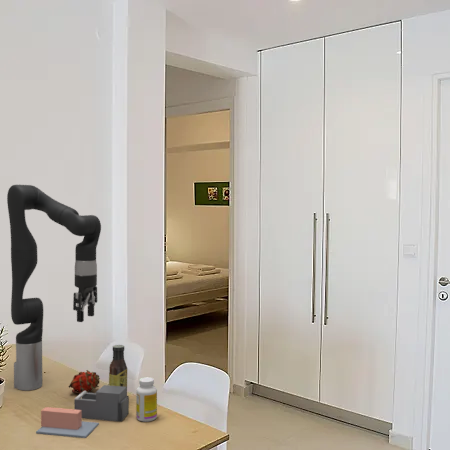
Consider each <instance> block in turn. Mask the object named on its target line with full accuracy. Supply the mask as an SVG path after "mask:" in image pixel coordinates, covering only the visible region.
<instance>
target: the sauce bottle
mask: <svg viewBox="0 0 450 450" xmlns="http://www.w3.org/2000/svg"><path fill="white" fill-rule="evenodd" d="M108 385H110V386H123V387H127V388H128V367H127V363H126V360H125V345H123V344H115V345H112V360H111V361H110V363H109V372H108Z"/></svg>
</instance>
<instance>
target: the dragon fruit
mask: <svg viewBox="0 0 450 450" xmlns="http://www.w3.org/2000/svg"><path fill="white" fill-rule="evenodd" d="M100 379H101V378H100V375H99V374H97V372H93V371H89V370H88V369H87V370H86V372H85V371H79V372H78V373H77V374H75V375H74V376H73V378H72V380H71V382H70V383H69V385H68V388H69V389H70V388H71V389H72V391H71V392H72V393H74V394H81V393H82V392H83V391H86V392H87V393H93V390H96V389H97V388H99V387H100Z"/></svg>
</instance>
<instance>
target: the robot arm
mask: <svg viewBox="0 0 450 450" xmlns="http://www.w3.org/2000/svg"><path fill="white" fill-rule="evenodd" d="M6 197H7V198H6V200H7V202H6V203H7V210H8V211H7V212H8V218H9V225H10V226H9V228H10V263H11V264H10V265H11V298H10V299H11V300H10V314H11V315H10V316H11V320H12V323H13V324H14V325H26V324H29V326H27V327H26V328H25V329H23V330H22V331H20V332H18V333H16V336H15V362H13V389H17V390H19V391H34V390H37V389H38V390H39V389H40V388H42V386H43V332H44V331H43V330H44V329H43V327H44V304H43V301H42V299H41V298H40V297H29V298H28V297H27V298H23V297H24V290H25V289H26V288H25V287H26V285H27V283H28V280H29V279H30V278H31V276H32V275H33V273H34V271H35V269H36V267H37V265H38V244H37V242H36V240H35V238H34V236H33V234H32V232H31V230H30V228H29V227H28V225H27V220H26V211H30V210H36V211H40V212H43V213H45V214H46V216H47V217H48V218H49V219H50V220H51V221H53V222H54V223H56V224H59V226H62V227H64V228H65V229H66V230H67V231H68V232H70V233H71V234H72V235H75V236H78V237H83V238H82V241H81V242H79V243H77V244H76V245H75V251H74V252H75V255H74V256H75V262H74V287H75V288H77V289H78V290H77V291H78V292H73V299H72V300H73V301H72V303H73V304H72V305H73V307H72V310H73V311H75V312H76V322H78V323H83V322H84V319H85V311H84V310H85V306H87V317H94V316H95V306H96V304H97V303H98V287H97V285H98V263H97V246H98V243H99V239H100V236H101V233H102V232H101V230H102V225H101V221H100V219H99V217H98V216H97V215H93V214H91V215H90V214H89V215H80V214H79V211H77V210H76V209H75V208H73V207H71V206H68V205H65V204H64V203H62V202H59V201H57V200H55V199H54V198H52V197H51V196H49V195H48V194H46V193H45V192H43V190H41V189H40V188H38V187H37V186H35V185H32V184H12V185H11V186H10V187H9V188H8V191H7V196H6Z"/></svg>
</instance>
